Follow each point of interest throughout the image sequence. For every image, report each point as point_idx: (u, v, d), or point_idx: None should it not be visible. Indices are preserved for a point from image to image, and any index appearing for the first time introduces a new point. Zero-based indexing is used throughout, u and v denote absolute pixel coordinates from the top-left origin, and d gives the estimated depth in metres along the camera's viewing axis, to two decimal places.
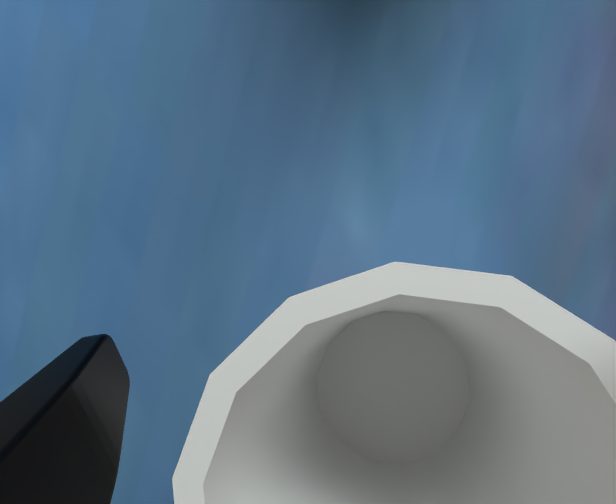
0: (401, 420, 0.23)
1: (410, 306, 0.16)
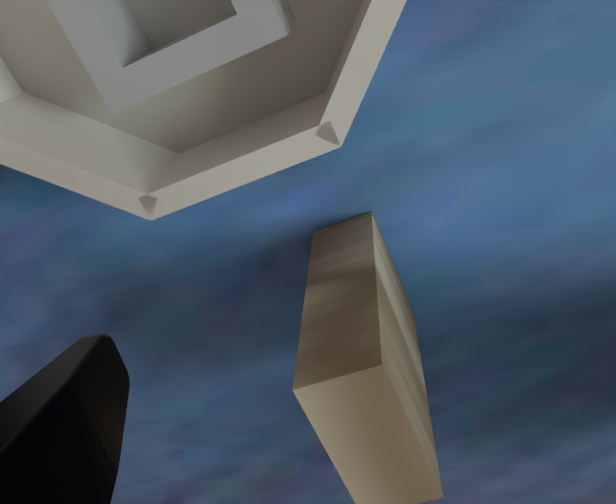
0: None
1: None
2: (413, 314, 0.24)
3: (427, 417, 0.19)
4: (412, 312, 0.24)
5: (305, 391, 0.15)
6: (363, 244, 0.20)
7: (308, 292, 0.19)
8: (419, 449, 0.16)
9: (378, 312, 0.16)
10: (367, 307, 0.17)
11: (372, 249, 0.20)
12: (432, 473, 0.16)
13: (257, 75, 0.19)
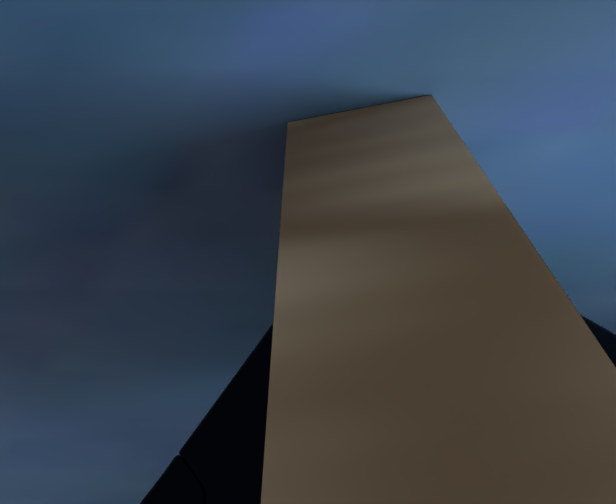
0: None
1: None
2: None
3: None
4: None
5: None
6: (438, 152, 0.08)
7: (289, 258, 0.06)
8: None
9: None
10: (554, 350, 0.04)
11: (474, 166, 0.07)
12: None
13: None
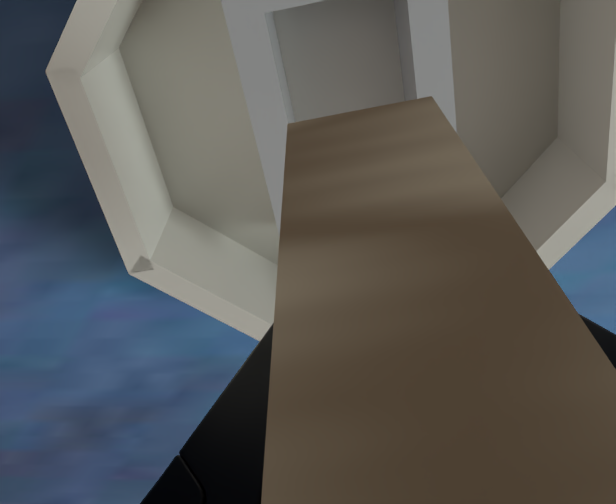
0: None
1: None
2: None
3: None
4: None
5: None
6: (438, 154, 0.08)
7: (289, 260, 0.06)
8: None
9: None
10: (555, 353, 0.04)
11: (474, 167, 0.07)
12: None
13: None
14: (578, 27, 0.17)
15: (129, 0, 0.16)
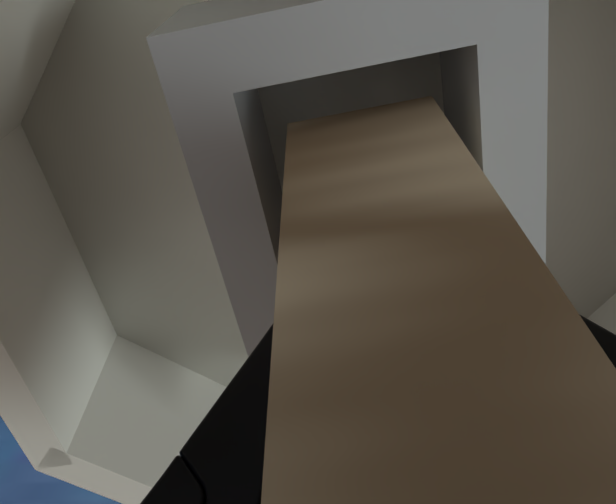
0: None
1: None
2: None
3: None
4: None
5: None
6: (438, 153, 0.08)
7: (289, 260, 0.06)
8: None
9: None
10: (556, 353, 0.04)
11: (474, 167, 0.07)
12: None
13: None
14: None
15: (11, 66, 0.09)
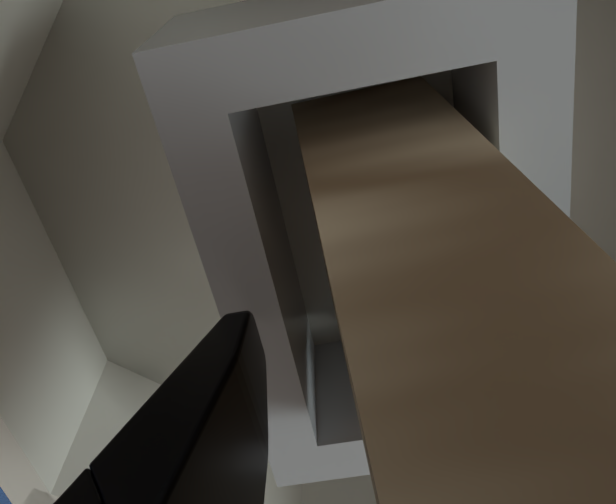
0: None
1: None
2: None
3: None
4: None
5: None
6: (437, 121, 0.09)
7: (325, 208, 0.07)
8: None
9: None
10: (566, 255, 0.05)
11: (472, 129, 0.08)
12: None
13: None
14: None
15: None
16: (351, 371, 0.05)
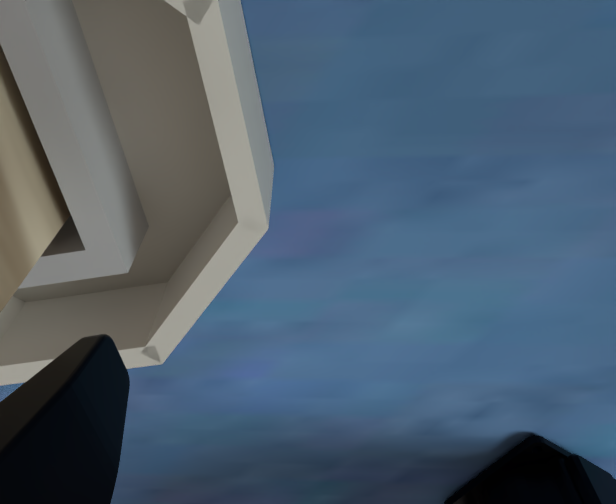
0: None
1: None
2: None
3: (3, 281, 0.14)
4: None
5: None
6: None
7: None
8: None
9: None
10: None
11: None
12: None
13: None
14: None
15: None
16: None
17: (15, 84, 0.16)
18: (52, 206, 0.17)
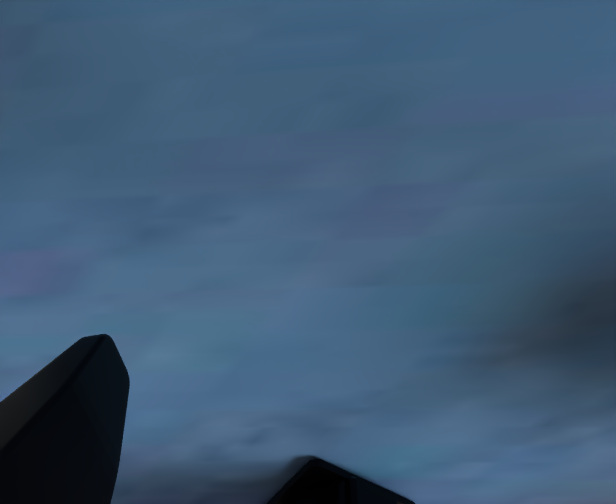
0: None
1: None
2: None
3: None
4: None
5: None
6: None
7: None
8: None
9: None
10: None
11: None
12: None
13: None
14: None
15: None
16: None
17: None
18: None
